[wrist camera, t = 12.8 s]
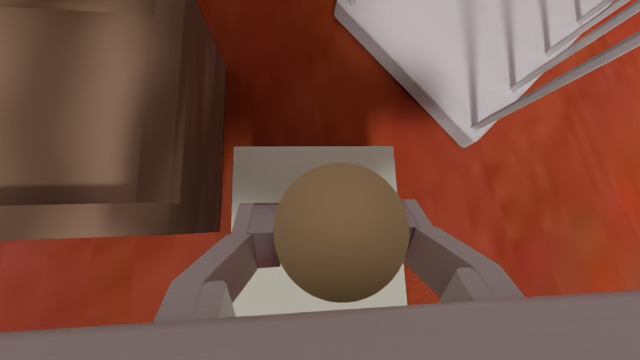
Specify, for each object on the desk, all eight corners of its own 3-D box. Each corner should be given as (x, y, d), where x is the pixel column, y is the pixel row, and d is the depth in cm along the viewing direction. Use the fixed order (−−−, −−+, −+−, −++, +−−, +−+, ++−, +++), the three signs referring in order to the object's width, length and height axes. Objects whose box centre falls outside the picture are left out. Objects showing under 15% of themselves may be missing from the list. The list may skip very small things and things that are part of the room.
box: (15, 238, 18) (-204, 247, 10) (48, 62, 20) (-107, -41, 12) (219, 231, 19) (167, 234, 11) (225, 67, 22) (186, -22, 14)
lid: (233, 318, 14) (131, 466, 6) (237, 151, 16) (166, 61, 7) (400, 307, 15) (541, 418, 6) (387, 150, 17) (484, 70, 8)
